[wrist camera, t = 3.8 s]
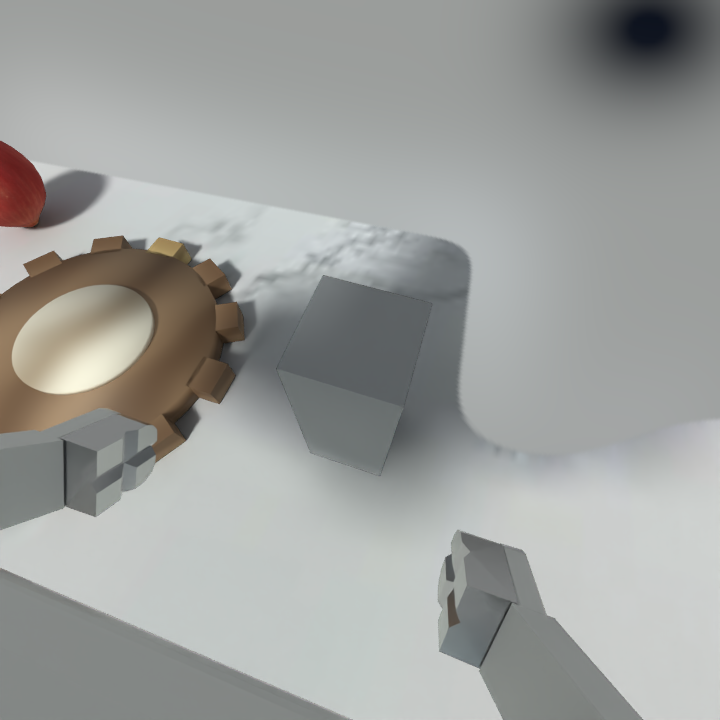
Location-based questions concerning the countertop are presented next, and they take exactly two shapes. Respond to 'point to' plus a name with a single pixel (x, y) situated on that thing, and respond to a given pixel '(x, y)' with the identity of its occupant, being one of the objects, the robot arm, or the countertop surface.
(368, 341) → the gray rectangular block
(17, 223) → the red fruit
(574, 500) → the countertop surface
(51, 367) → the sprocket
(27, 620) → the robot arm
